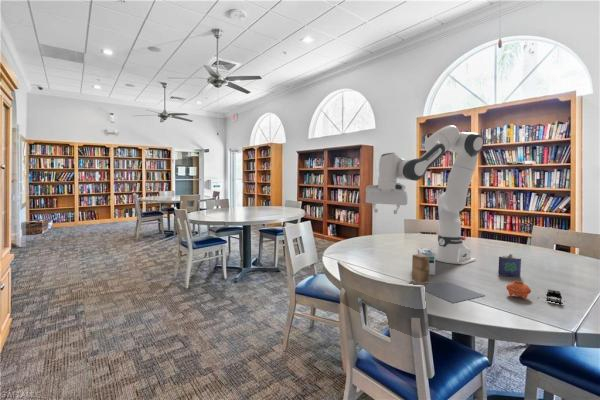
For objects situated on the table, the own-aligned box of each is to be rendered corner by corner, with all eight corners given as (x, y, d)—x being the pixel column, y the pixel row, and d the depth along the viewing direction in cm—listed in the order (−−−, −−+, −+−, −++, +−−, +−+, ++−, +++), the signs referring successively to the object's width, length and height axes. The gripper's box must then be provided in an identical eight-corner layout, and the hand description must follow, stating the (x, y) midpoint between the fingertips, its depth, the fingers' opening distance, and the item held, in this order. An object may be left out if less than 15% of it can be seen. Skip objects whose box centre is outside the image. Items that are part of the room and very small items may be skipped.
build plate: (533, 302, 117) (533, 290, 116) (532, 296, 123) (533, 285, 122) (576, 310, 109) (577, 298, 109) (573, 303, 115) (574, 292, 115)
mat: (446, 281, 138) (446, 281, 138) (485, 295, 121) (485, 295, 121) (416, 287, 130) (416, 286, 130) (453, 303, 114) (453, 302, 114)
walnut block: (419, 279, 141) (420, 253, 140) (428, 282, 136) (429, 256, 136) (411, 280, 139) (412, 254, 138) (420, 284, 134) (421, 257, 134)
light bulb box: (435, 275, 147) (436, 253, 146) (420, 274, 148) (421, 252, 147) (430, 268, 157) (431, 248, 156) (416, 268, 158) (417, 247, 158)
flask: (519, 275, 146) (520, 253, 146) (521, 277, 144) (523, 255, 143) (497, 273, 149) (498, 252, 148) (499, 275, 146) (500, 253, 145)
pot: (536, 298, 118) (535, 282, 117) (521, 305, 116) (520, 289, 115) (516, 290, 125) (515, 275, 124) (502, 297, 123) (500, 281, 122)
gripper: (364, 184, 152) (363, 212, 153) (407, 186, 144) (406, 215, 145) (367, 184, 157) (365, 211, 159) (408, 186, 149) (407, 214, 151)
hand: (385, 213), depth 152 cm, fingers open, 8 cm apart
